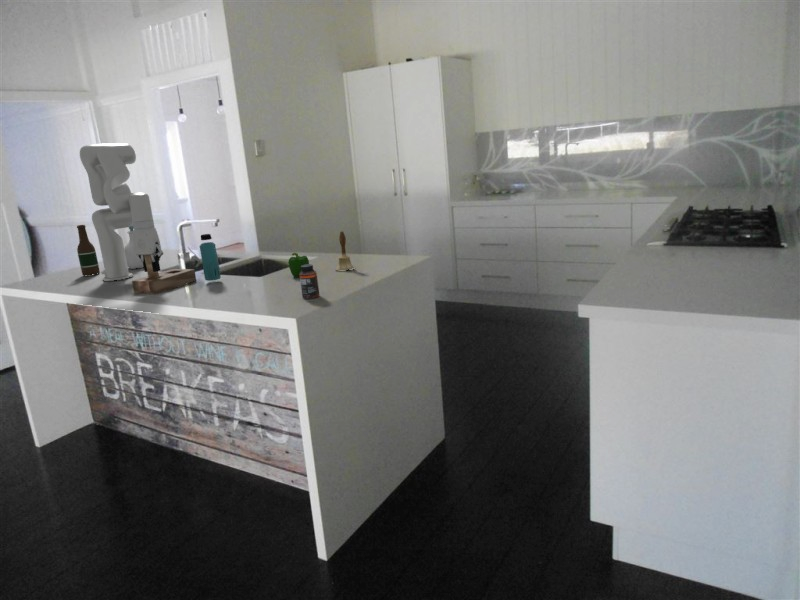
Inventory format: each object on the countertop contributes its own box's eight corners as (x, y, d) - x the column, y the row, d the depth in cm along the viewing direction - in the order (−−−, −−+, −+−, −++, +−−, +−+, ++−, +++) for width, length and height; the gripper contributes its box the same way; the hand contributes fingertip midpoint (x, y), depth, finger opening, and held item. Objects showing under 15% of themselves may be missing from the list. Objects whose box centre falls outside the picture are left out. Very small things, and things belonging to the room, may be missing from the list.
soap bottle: (146, 264, 307) (138, 219, 301) (151, 267, 299) (142, 221, 293) (126, 268, 301) (117, 222, 296) (130, 270, 294) (121, 223, 288)
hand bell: (356, 266, 256) (352, 229, 252) (354, 270, 248) (350, 232, 244) (336, 268, 257) (332, 230, 253) (334, 272, 249) (329, 233, 245)
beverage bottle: (217, 284, 245) (209, 235, 240) (202, 284, 246) (194, 235, 241) (224, 280, 251) (217, 232, 246) (210, 280, 252) (202, 233, 247)
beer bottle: (89, 276, 286) (79, 226, 280) (78, 276, 289) (67, 226, 283) (103, 273, 292) (93, 223, 286) (93, 272, 296) (82, 224, 290)
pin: (146, 279, 240) (140, 250, 238) (154, 277, 244) (148, 248, 241) (154, 280, 239) (148, 250, 236) (161, 277, 242) (156, 248, 239)
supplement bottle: (314, 294, 213) (310, 262, 211) (322, 296, 209) (319, 264, 206) (299, 297, 210) (295, 265, 207) (307, 300, 205) (303, 267, 202)
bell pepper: (305, 272, 252) (302, 249, 250) (313, 275, 246) (310, 251, 243) (286, 276, 248) (283, 252, 246) (294, 279, 241) (291, 254, 239)
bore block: (134, 293, 240) (131, 280, 239) (174, 280, 260) (172, 268, 258) (156, 293, 235) (154, 281, 234) (196, 280, 255) (194, 269, 253)
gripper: (120, 227, 236) (129, 273, 241) (152, 226, 229) (161, 273, 234) (135, 224, 243) (144, 269, 247) (167, 223, 236) (175, 269, 240)
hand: (152, 270), depth 241 cm, fingers closed on pin, 4 cm apart
